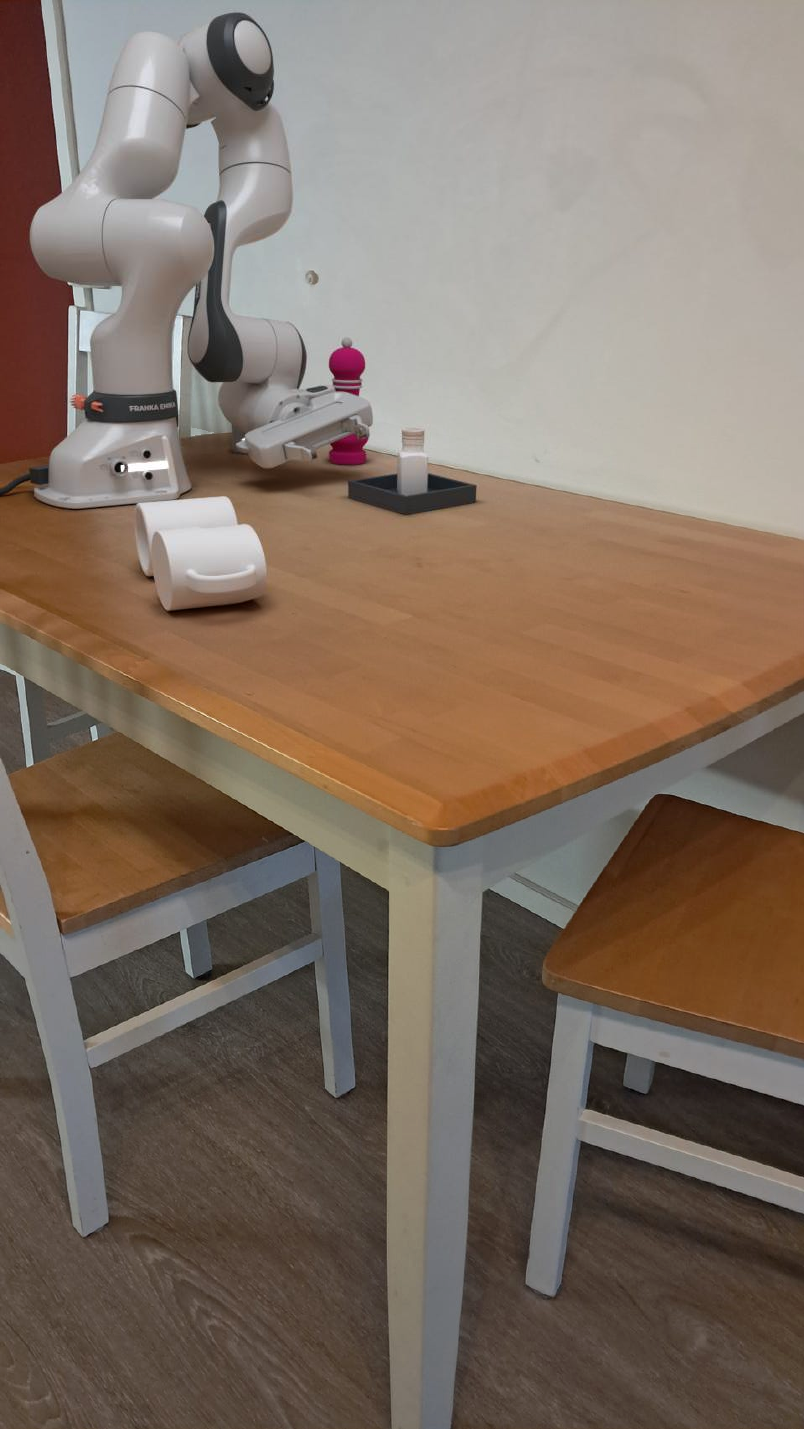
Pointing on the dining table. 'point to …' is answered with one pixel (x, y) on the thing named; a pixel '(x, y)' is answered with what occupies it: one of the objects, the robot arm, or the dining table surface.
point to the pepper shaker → (412, 463)
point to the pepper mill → (347, 379)
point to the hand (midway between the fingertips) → (339, 444)
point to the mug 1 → (177, 520)
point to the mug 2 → (208, 566)
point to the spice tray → (386, 495)
